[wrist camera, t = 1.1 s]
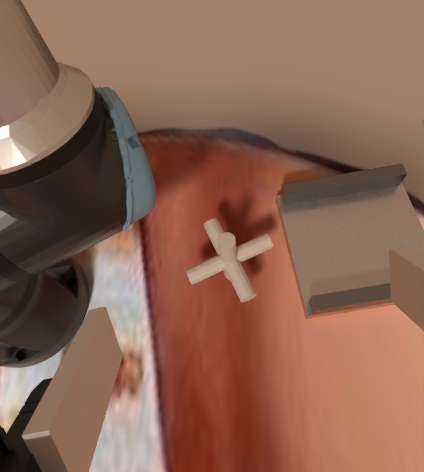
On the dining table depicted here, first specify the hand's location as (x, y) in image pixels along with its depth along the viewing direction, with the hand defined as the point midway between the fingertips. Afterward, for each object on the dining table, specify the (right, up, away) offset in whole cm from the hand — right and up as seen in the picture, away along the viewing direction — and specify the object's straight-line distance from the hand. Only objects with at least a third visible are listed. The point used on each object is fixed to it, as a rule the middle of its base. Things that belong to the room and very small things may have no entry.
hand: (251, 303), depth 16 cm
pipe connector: (+1, -2, +28) cm, 28 cm away
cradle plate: (+16, +2, +27) cm, 32 cm away
